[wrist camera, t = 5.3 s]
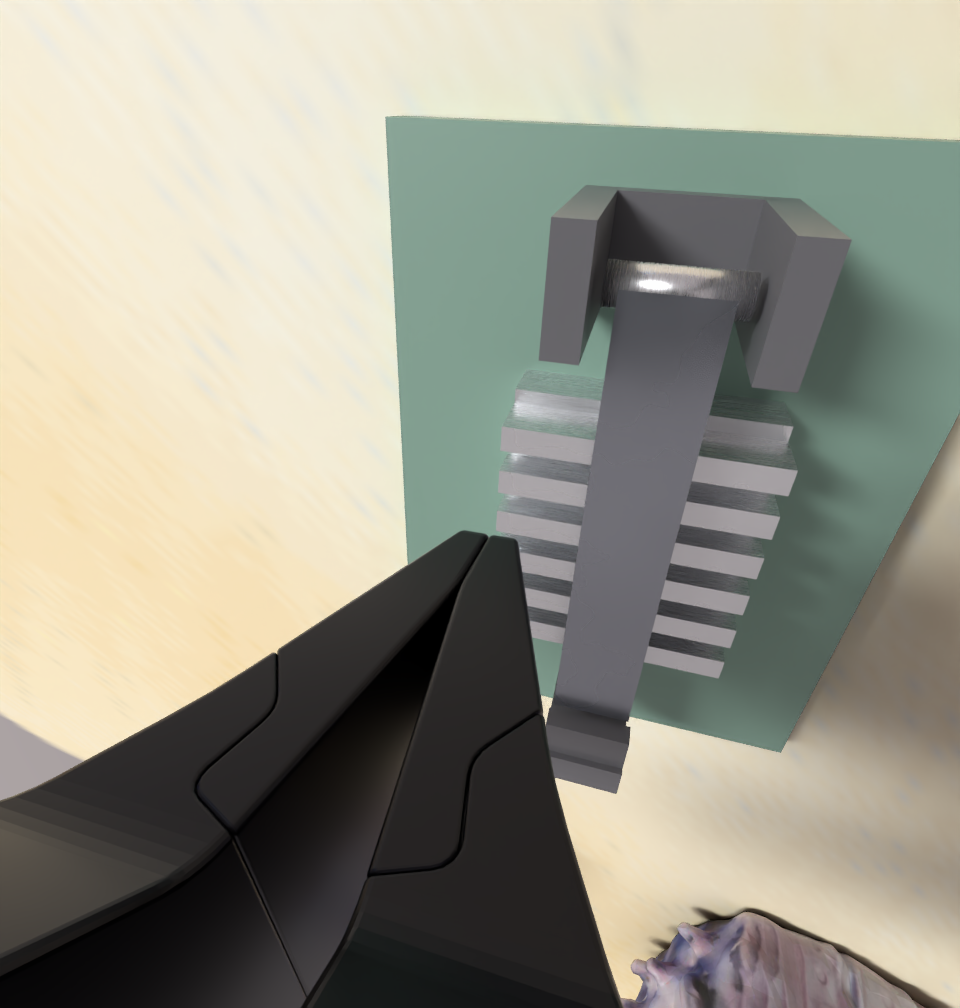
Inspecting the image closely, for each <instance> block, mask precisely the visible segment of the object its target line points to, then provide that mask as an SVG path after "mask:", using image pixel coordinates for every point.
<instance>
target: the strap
mask: <svg viewBox="0 0 960 1008" xmlns="http://www.w3.org/2000/svg"><path fill="white" fill-rule="evenodd" d="M760 283H761V273H760V272H753V271H742V270H731V269H719V268H708V267H697V266H685V265H674V264H663V263H652V262H640V261H629V260H618V259H608V261H607V265H606V270H605V276H604V282H603V289H602V296H601V307H608V308H615V314H614V320H613V327H612V333H611V340H610V346H609V352H608V359H607V365H606V372H605V378H604V384H603V391H602V397H601V404H600V410H599V416H598V423H597V429H596V436H595V442H594V448H593V455H592V461H591V468H590V474H589V480H588V487H587V493H586V500H585V506H584V512H583V519H582V525H581V532H580V538H579V544H578V551H577V557H576V564H575V570H574V576H573V583H572V589H571V596H570V602H569V608H568V615H567V621H566V628H565V634H564V641H563V647H562V653H561V660H560V666H559V673H558V679H557V685H556V692H555V698H554V704H557V705H561V706H565V707H569V708H573V709H577V710H582V711H586V712H590V713H594V714H598V715H602V716H606V717H611V718H615V719H619V720H623V721H627V722H628V720H629V716H630V713H631V709H632V705H633V701H634V697H635V694H636V690H637V686H638V682H639V679H640V675H641V671H642V667H643V663H644V660H645V656H646V652H647V648H648V644H649V641H650V637H651V633H652V629H653V626H654V622H655V618H656V614H657V610H658V607H659V603H660V599H661V595H662V591H663V588H664V584H665V580H666V576H667V573H668V569H669V565H670V561H671V557H672V554H673V550H674V546H675V542H676V538H677V535H678V531H679V527H680V523H681V520H682V516H683V512H684V508H685V504H686V501H687V497H688V493H689V489H690V485H691V482H692V478H693V474H694V470H695V466H696V463H697V459H698V455H699V451H700V448H701V444H702V440H703V436H704V432H705V429H706V425H707V421H708V417H709V413H710V410H711V406H712V402H713V398H714V395H715V391H716V387H717V383H718V379H719V376H720V372H721V368H722V364H723V360H724V357H725V353H726V349H727V345H728V342H729V338H730V334H731V330H732V326H733V323H734V321H741V322H749V321H750V319H751V317H752V315H753V312H754V309H755V306H756V302H757V299H758V294H759V289H760Z"/></svg>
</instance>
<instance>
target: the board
mask: <svg viewBox="0 0 960 1008" xmlns="http://www.w3.org/2000/svg"><path fill="white" fill-rule="evenodd" d="M385 118H386V138H387V158H388V178H389V198H390V218H391V238H392V258H393V278H394V298H395V318H396V338H397V358H398V378H399V398H400V418H401V438H402V458H403V478H404V498H405V518H406V538H407V558H408V564H410V563H411V562H413V561H414V560H416V559H417V558H419V557H420V556H422V555H424V554H425V553H427V552H428V551H430V550H431V549H433V548H434V547H436V546H437V545H439V544H440V543H442V542H443V541H445V540H447V539H448V538H450V537H451V536H453V535H454V534H456V533H457V532H459V531H462V530H467V531H473V532H479V533H485V534H487V535H488V537H490V536H492V535H497V536H500V534H501V532H499V531H496V521H497V510H498V507H499V505H500V503H501V501H502V498H503V496H504V494H503V493H498V484H499V470H500V468H501V466H502V464H503V462H504V460H505V458H506V456H507V453H508V452H505V451H500V448H501V430H502V425H503V423H504V421H505V419H506V418H507V416H508V414H509V412H510V410H511V408H512V407H513V405H514V403H515V389H516V387H517V385H518V384H519V382H520V380H521V378H522V377H523V375H524V373H525V371H526V369H530V370H537V371H545V372H553V373H561V374H568V375H576V376H584V377H592V378H599V379H604V378H605V372H606V365H607V359H608V352H609V346H610V340H611V333H612V327H613V320H614V314H615V308H608V307H600V310H599V313H598V315H597V318H596V321H595V323H594V326H593V329H592V331H591V334H590V337H589V339H588V342H587V345H586V348H585V350H584V353H583V356H582V358H581V361H580V364H579V366H578V365H570V364H562V363H554V362H546V361H539V349H540V338H541V327H542V315H543V304H544V292H545V281H546V270H547V258H548V247H549V235H550V224H551V217H552V216H553V215H554V214H555V213H556V212H557V211H558V210H559V209H560V208H561V207H562V206H564V205H565V204H566V203H567V202H568V201H569V200H570V199H571V198H572V197H573V196H574V195H576V194H577V193H578V192H579V191H580V190H581V189H582V188H583V187H584V186H585V185H596V186H611V187H626V188H642V189H657V190H673V191H688V192H704V193H719V194H735V195H750V196H766V197H781V198H797V199H801V200H802V201H803V202H805V203H806V204H807V205H809V206H810V207H811V208H812V209H814V210H815V211H816V212H817V213H819V214H820V215H821V216H822V217H824V218H825V219H826V220H828V221H829V222H830V223H831V224H833V225H834V226H835V227H836V228H838V229H839V230H840V231H841V232H843V233H844V234H845V235H847V236H848V237H849V238H850V239H852V241H851V244H850V247H849V250H848V252H847V255H846V258H845V261H844V264H843V267H842V269H841V272H840V275H839V278H838V281H837V284H836V286H835V289H834V292H833V295H832V298H831V301H830V303H829V306H828V309H827V312H826V315H825V318H824V321H823V323H822V326H821V329H820V332H819V335H818V338H817V340H816V343H815V346H814V349H813V352H812V355H811V357H810V360H809V363H808V366H807V369H806V372H805V374H804V377H803V380H802V383H801V386H800V389H799V391H798V393H793V392H785V391H777V390H769V389H761V388H753V387H751V383H750V380H749V376H748V372H747V368H746V364H745V360H744V357H743V353H742V349H741V345H740V341H739V337H738V334H737V330H736V326H735V322H734V323H733V326H732V330H731V334H730V338H729V342H728V345H727V349H726V353H725V357H724V360H723V364H722V368H721V372H720V376H719V379H718V383H717V387H716V391H715V393H716V394H723V395H731V396H739V397H747V398H754V399H762V400H770V401H778V402H785V405H786V407H787V410H788V413H789V416H790V419H791V421H792V424H793V430H792V432H791V435H790V438H789V441H788V442H789V445H790V448H791V451H792V454H793V457H794V460H795V463H796V466H797V469H798V472H797V475H796V477H795V480H794V483H793V485H792V488H791V491H790V493H789V496H783V495H776V494H775V498H776V502H777V506H778V510H779V514H780V519H779V522H778V524H777V527H776V530H775V532H774V535H773V538H772V540H769V539H763V538H761V543H762V549H763V554H764V561H763V564H762V566H761V569H760V571H759V574H758V577H757V579H751V578H747V580H748V587H749V594H750V598H749V600H748V603H747V605H746V608H745V611H744V613H743V615H738V614H735V620H736V629H737V632H736V634H735V637H734V639H733V642H732V645H731V647H730V648H726V647H723V649H724V661H725V663H724V665H723V668H722V671H721V673H720V676H719V679H718V678H714V677H709V676H705V675H700V674H696V673H691V672H687V671H682V670H678V669H673V668H669V667H664V666H660V665H655V664H650V663H646V662H644V663H643V667H642V671H641V675H640V679H639V682H638V686H637V690H636V694H635V697H634V701H633V705H632V709H631V713H630V717H634V718H638V719H643V720H647V721H651V722H655V723H659V724H663V725H668V726H672V727H676V728H680V729H684V730H688V731H693V732H697V733H701V734H705V735H709V736H713V737H718V738H722V739H726V740H730V741H734V742H739V743H743V744H747V745H751V746H755V747H759V748H764V749H768V750H772V751H776V752H780V753H781V751H782V749H783V747H784V746H785V744H786V742H787V740H788V738H789V736H790V734H791V732H792V730H793V728H794V727H795V725H796V723H797V721H798V719H799V717H800V715H801V713H802V711H803V709H804V708H805V706H806V704H807V702H808V700H809V698H810V696H811V694H812V692H813V690H814V689H815V687H816V685H817V683H818V681H819V679H820V677H821V675H822V673H823V671H824V670H825V668H826V666H827V664H828V662H829V660H830V658H831V656H832V654H833V652H834V651H835V649H836V647H837V645H838V643H839V641H840V639H841V637H842V635H843V634H844V632H845V630H846V628H847V626H848V624H849V622H850V620H851V618H852V616H853V615H854V613H855V611H856V609H857V607H858V605H859V603H860V601H861V599H862V597H863V596H864V594H865V592H866V590H867V588H868V586H869V584H870V582H871V580H872V578H873V577H874V575H875V573H876V571H877V569H878V567H879V565H880V563H881V561H882V559H883V558H884V556H885V554H886V552H887V550H888V548H889V546H890V544H891V542H892V540H893V539H894V537H895V535H896V533H897V531H898V529H899V527H900V525H901V523H902V522H903V520H904V518H905V516H906V514H907V512H908V510H909V508H910V506H911V504H912V503H913V501H914V499H915V497H916V495H917V493H918V491H919V489H920V487H921V485H922V484H923V482H924V480H925V478H926V476H927V474H928V472H929V470H930V468H931V466H932V465H933V463H934V461H935V459H936V457H937V455H938V453H939V451H940V449H941V447H942V446H943V444H944V442H945V440H946V438H947V436H948V434H949V432H950V430H951V428H952V427H953V425H954V423H955V421H956V419H957V417H958V415H959V413H960V140H941V139H918V138H895V137H872V136H850V135H827V134H804V133H782V132H759V131H736V130H714V129H691V128H668V127H646V126H623V125H600V124H578V123H555V122H532V121H510V120H487V119H464V118H442V117H419V116H390V117H385ZM532 640H533V647H534V653H535V660H536V667H537V674H538V680H539V687H540V694H541V695H542V696H547V697H551V698H553V696H554V691H555V686H556V681H557V677H558V672H559V666H560V660H561V653H562V647H563V644H560V643H555V642H551V641H546V640H542V639H537V638H533V637H532Z"/></svg>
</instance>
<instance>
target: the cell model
mask: <svg viewBox="0 0 960 1008" xmlns="http://www.w3.org/2000/svg"><path fill="white" fill-rule="evenodd" d="M677 929H678V931H679V933H678V934H677V935H676V936H675V938H674V939H673V940H672V943H671V945H670V947H669V948H668V949H666V950H664V951H663V952H662V953H660V954H659V955H658V956H657V957H656V959H655V958H650V959H648V960H647V962H646V961H642V960H639V959H635V960H634V961H633V963H632V964H631V970H632V972H633V973H634V974H637V975H639V976H640V977H641V979H642V981H643V984H642V987H641V990H640V992H639V995H638V997H637V999H636V1001H634V1000H632V999H625V998H621V1001H622V1004H623V1006H624V1008H924V1007H923V1006H921V1005H920V1004H918V1003H917V1002H915V1001H913V1000H912V999H911V998H910V996H909V995H908V994H907V993H906V992H905V991H903V990H902V989H900V988H898V987H896V986H894V985H892V984H890V983H888V982H887V981H886V980H884V979H883V978H882V977H880V976H879V975H878V974H876V973H875V972H873V971H872V970H870V969H869V968H867V967H866V966H864V965H863V964H861V963H860V962H858V961H857V960H855V959H853V958H852V957H850V956H849V955H847V954H843V953H838V952H837V951H836V949H835V948H834V947H833V946H832V945H831V944H829V943H825V942H820V941H816V940H814V939H812V938H809V937H807V936H805V935H802V934H799V933H796V932H793V931H790V930H787V929H783V928H781V927H780V926H778V925H777V924H776V923H774V922H772V921H771V920H769V919H767V918H765V917H763V916H760V915H757V914H754V913H750V912H743V913H741V914H739V915H738V916H736V917H734V918H732V919H730V920H713V921H708V922H706V923H704V924H702V925H700V926H696V927H694V926H692V925H690V924H688V923H684V922H682V923H681V924H680V925H679V926H678V928H677Z"/></svg>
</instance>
